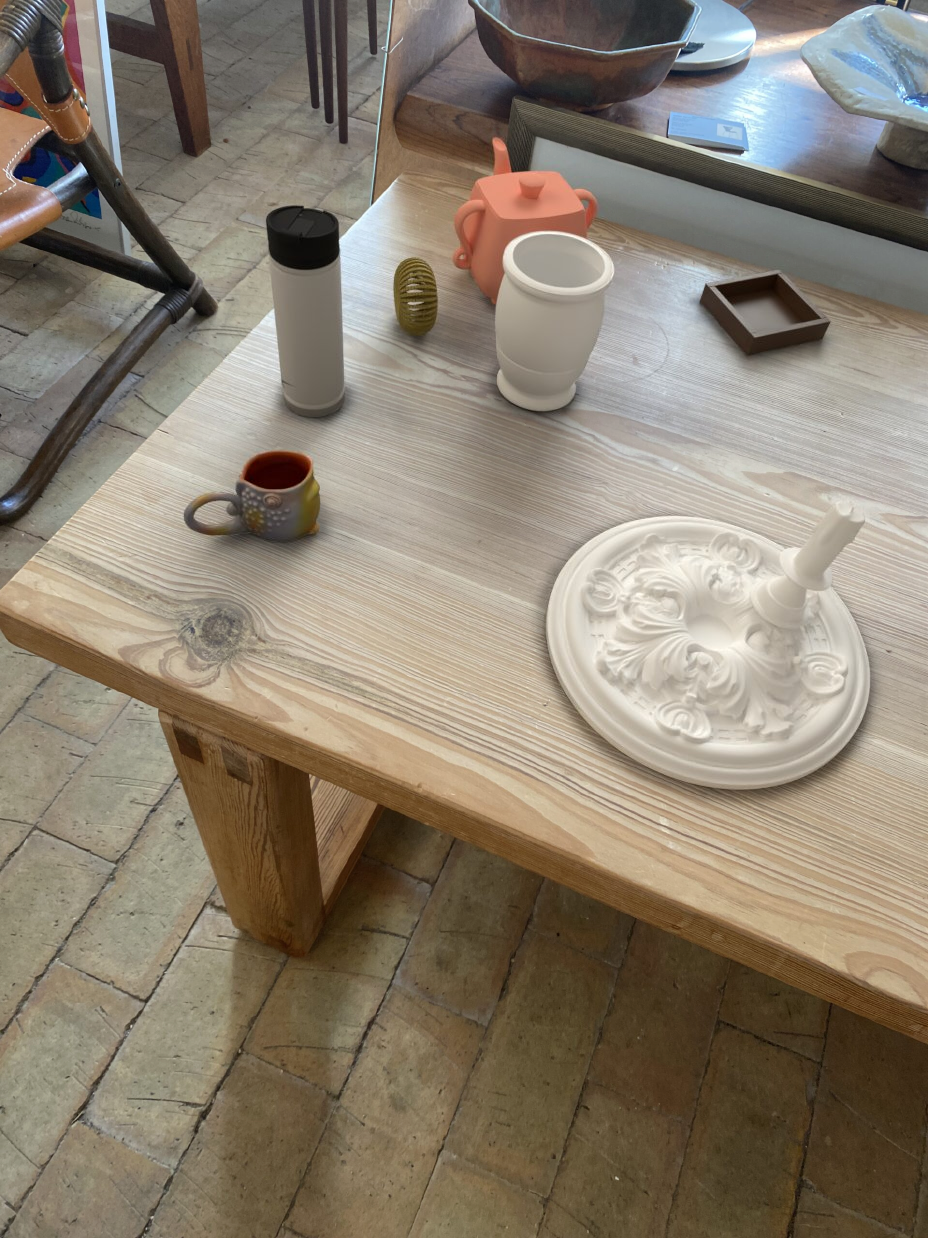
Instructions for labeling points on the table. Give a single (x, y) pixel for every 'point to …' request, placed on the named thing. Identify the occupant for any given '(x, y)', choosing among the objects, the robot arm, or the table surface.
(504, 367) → the jar
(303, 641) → the table surface
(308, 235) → the travel mug
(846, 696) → the ceiling medallion
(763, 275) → the tray
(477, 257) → the teapot
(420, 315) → the sculpture
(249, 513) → the mug
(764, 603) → the candle
